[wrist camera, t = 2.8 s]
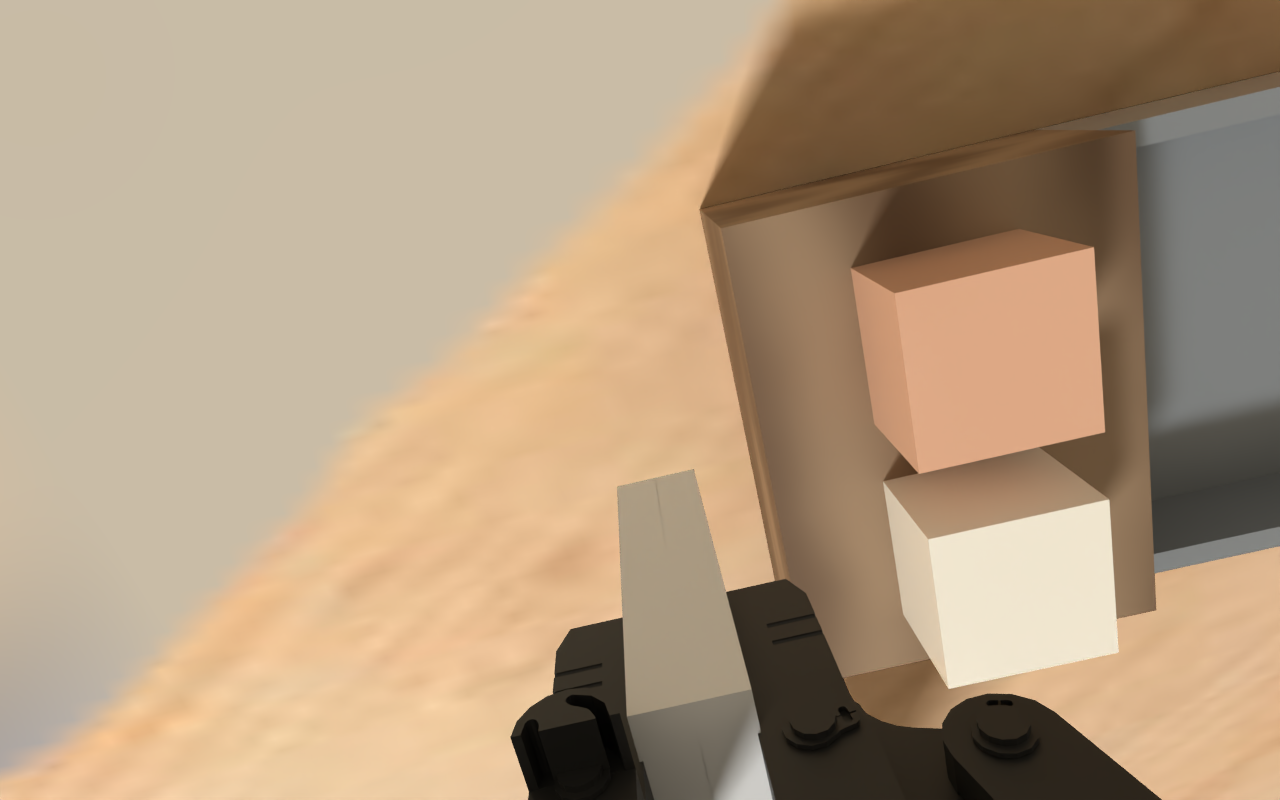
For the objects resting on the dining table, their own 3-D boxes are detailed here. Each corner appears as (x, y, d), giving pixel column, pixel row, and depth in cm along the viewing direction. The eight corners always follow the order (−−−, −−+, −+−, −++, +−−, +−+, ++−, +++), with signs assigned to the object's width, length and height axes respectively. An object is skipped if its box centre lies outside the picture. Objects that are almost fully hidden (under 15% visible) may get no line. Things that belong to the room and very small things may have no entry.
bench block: (1033, 129, 30) (1135, 130, 24) (1065, 530, 35) (1156, 610, 29) (699, 209, 30) (720, 228, 24) (777, 593, 35) (811, 684, 29)
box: (1436, 34, 29) (1560, 20, 25) (1410, 454, 34) (1511, 495, 30) (1033, 129, 30) (1096, 130, 26) (1065, 530, 35) (1122, 580, 31)
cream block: (1038, 446, 27) (1109, 499, 23) (1050, 581, 28) (1118, 652, 25) (883, 481, 27) (927, 539, 23) (903, 613, 29) (948, 689, 25)
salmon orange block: (1019, 228, 25) (1094, 247, 21) (1032, 388, 26) (1105, 432, 22) (850, 267, 25) (894, 293, 21) (874, 424, 26) (919, 473, 23)
